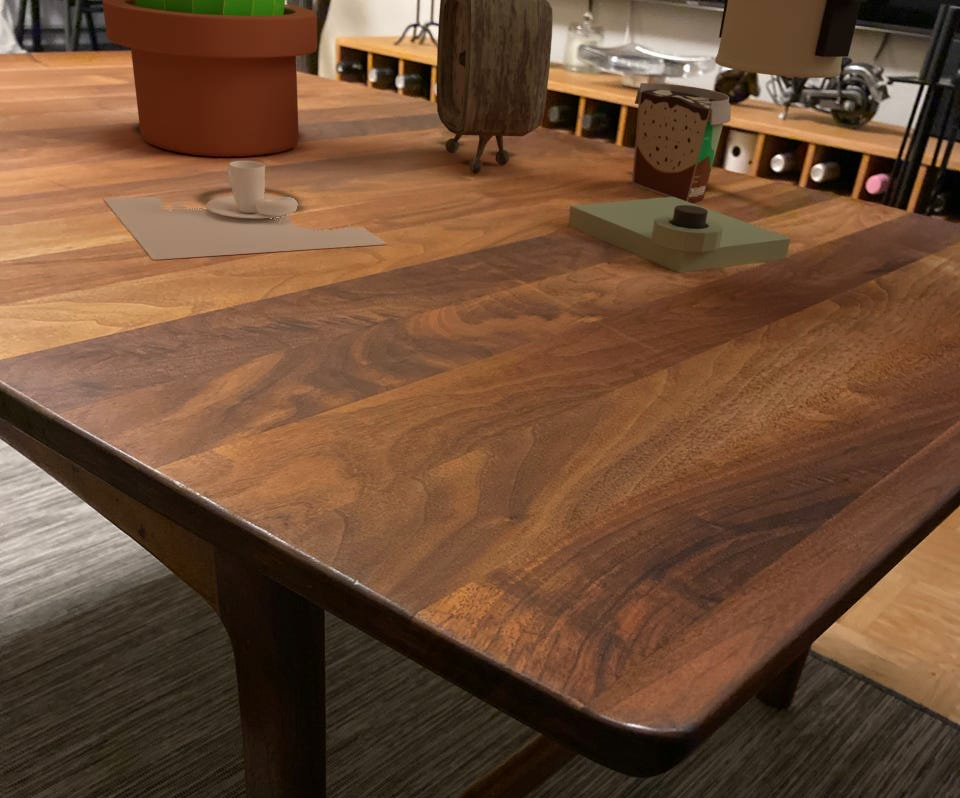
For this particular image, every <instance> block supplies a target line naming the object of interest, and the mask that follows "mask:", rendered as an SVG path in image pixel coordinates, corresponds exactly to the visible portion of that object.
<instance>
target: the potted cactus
mask: <svg viewBox="0 0 960 798" xmlns="http://www.w3.org/2000/svg"><path fill="white" fill-rule="evenodd" d="M102 9H103V10H102V11H103V17H104V25H105V34H106V39H107V40H108V41H109V42H111V43H113V44H116V45H118V46H122V47H126V48H130V52H131V53H130V54H131V62H132V70H133V71H132V72H133V78H134V79H133V80H134V89H135V98H136V106H137V115H138V123H139V131H140V134H141V137H142V139H143V140H144V142H146V143H148V144H150V145H151V146H154V147H157V148H159V149H163V150H166V151H170V152H174V153H180V154H186V155H192V156H204V157H221V158H222V157H223V158H224V157H225V158H226V157H227V158H228V157H230V158H231V156H236V157H254V155H255V156H263V155H264V154H265V155H271V154H278V153H282V152H285V151H288V150H290V149H293V148H295V147H296V146H297V145H298V143H299V132H300V131H299V105H298V103H299V102H298V78H297V77H298V73H297V71H298V69H297V57H300V56H305V55H310V54H314V53H316V52H317V50H318V15H317V12H316V11H314V10H312V9H309V8H306V7H301V6H296V5H291V4H286V0H102ZM265 155H264V156H265Z"/></svg>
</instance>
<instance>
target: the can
mask: <svg viewBox="0 0 960 798" xmlns="http://www.w3.org/2000/svg"><path fill="white" fill-rule="evenodd" d="M826 2H827V0H728V4H727V9H726V15H725V20H724V25H723V31H722V36H721V38H720V40H719V41H720V42H719V47H718V50H717V54H716V56H715V58H714V62H715V64H717V65H718V66H720V67H723V68H727V69H730V70H735V71H741V72H746V73H752V74H758V75H759V74H761V75H770V76H777V77H778V76H779V77H790V78H791V77H792V78H803V79H828V78H837V77H839V76H840V75H841V74H842V60H843V57H821V56H816V55H815V52H816V47H817V43H818V38H819V34H820V29H821V25H822V20H823V16H824V11H825V7H826Z"/></svg>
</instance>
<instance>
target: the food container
mask: <svg viewBox="0 0 960 798" xmlns="http://www.w3.org/2000/svg"><path fill="white" fill-rule="evenodd" d="M634 105H637V117H636V118H637V119H636V128H635V129H636V131H635V142H634V153H633V167H632V179H631V181H632V182H631V185H634V186H637V187H638V188H639V187H640V188H642V189H644V190H648V191H650V192H652V193H653V192H654V193H656V194H659V195H662V196H664V197H675V198H678V199H681V200H684V201H687V202H690V203H692V204H696V203H699V202H702V201H703V200H704V198H705V195H706V190H707V187H708V184H709V183H708V182H709V179H710V176H711V172H712V168H713V165H714V161H715V157H716V154H717V153H716V152H717V149H718V145H719V142H720V139H721V138H720V137H721V134H722V131H723V126H724V124H727V123H729V122H731V121H732V119H731V118H732V117H731V115H732V113H731V112H732V111H731V110H732V109H731V108H732V106H731V103H730V96H729V95H728V94H725V93H724V92H723V93H722V92H719V91H716V90H711V89H707V88H701V87H696V86H689V85H682V84H671V83H658V82H657V83H655V82H640V85H639V89H637V93H636V96H635V100H634Z"/></svg>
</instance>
